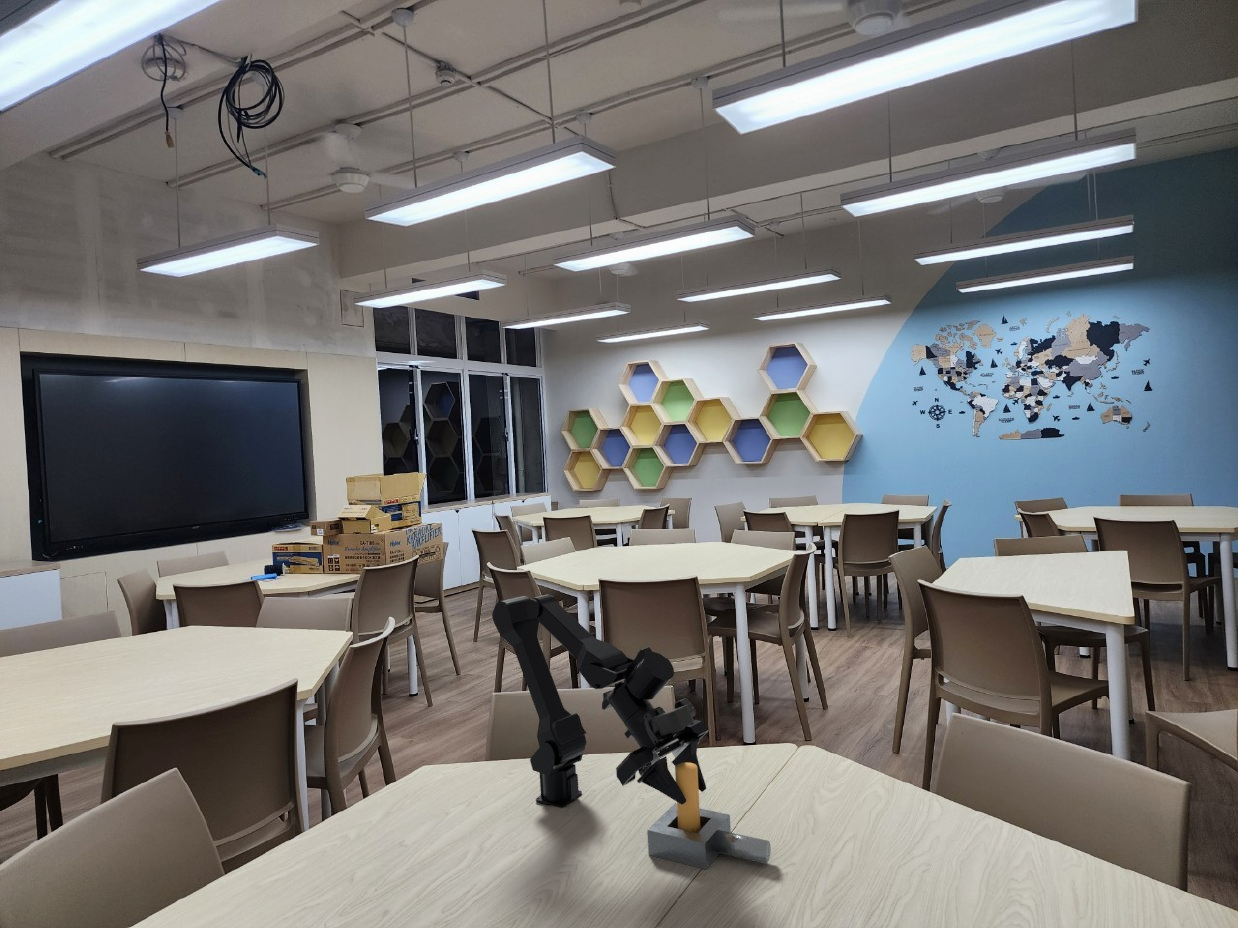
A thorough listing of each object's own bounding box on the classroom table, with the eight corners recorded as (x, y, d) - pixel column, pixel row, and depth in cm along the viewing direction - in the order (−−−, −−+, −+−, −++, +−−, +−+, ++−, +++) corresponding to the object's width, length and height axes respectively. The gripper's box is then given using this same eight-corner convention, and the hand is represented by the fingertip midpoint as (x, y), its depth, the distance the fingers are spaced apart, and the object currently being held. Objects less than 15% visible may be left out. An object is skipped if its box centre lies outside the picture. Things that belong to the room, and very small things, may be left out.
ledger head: (648, 854, 121) (647, 829, 121) (676, 826, 129) (674, 803, 129) (756, 881, 111) (755, 854, 111) (778, 849, 120) (777, 824, 120)
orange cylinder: (678, 852, 121) (674, 771, 121) (679, 840, 124) (675, 762, 124) (701, 852, 120) (696, 771, 120) (701, 841, 124) (697, 762, 124)
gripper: (625, 703, 118) (686, 791, 110) (696, 672, 132) (754, 749, 124) (591, 742, 123) (647, 829, 116) (663, 709, 137) (716, 785, 130)
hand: (694, 796), depth 121 cm, fingers open, 5 cm apart
